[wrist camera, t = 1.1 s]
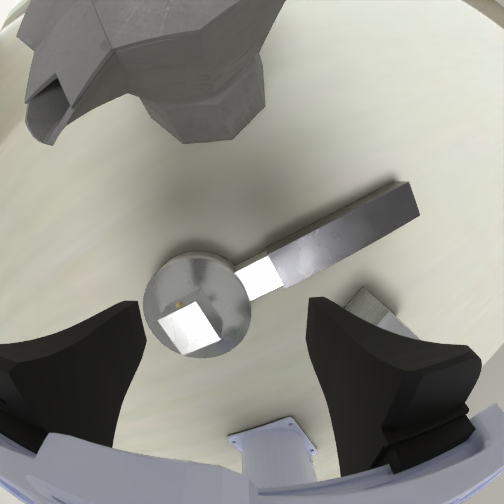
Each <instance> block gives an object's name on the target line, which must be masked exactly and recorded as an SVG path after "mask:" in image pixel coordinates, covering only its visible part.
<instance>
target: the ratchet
mask: <svg viewBox="0 0 504 504" xmlns="http://www.w3.org/2000/svg"><path fill="white" fill-rule="evenodd" d="M418 216H420V214H419V210H418V207H417V204H416V201H415V198H414V195H413V192H412V189H411V187H410V184H409V182H399V181H394V182H393V183H391V184H389V185H387V186H385V187H383V188H381V189H379V190H377V191H375V192H373V193H371V194H369V195H367V196H365V197H363V198H361V199H359V200H357V201H355V202H354V203H352V204H350V205H348V206H346V207H344V208H342V209H340V210H338V211H336V212H334V213H332V214H330V215H328V216H326V217H324V218H322V219H320V220H318V221H316V222H314V223H312V224H311V225H309V226H307V227H305V228H303V229H301V230H299V231H297V232H295V233H293V234H291V235H289V236H287V237H285V238H283V239H281V240H279V241H277V242H275V243H273V244H271V245H269V246H267V247H265V248H266V250H265V251H263V252H261V253H259V254H257V255H255V256H253V257H251V258H250V259H248V260H246V261H244V262H242V263H240V264H238V265H236V266H234V265H233V264H232V263H231V262H229V261H228V260H227V259H225V258H223V257H221V256H219V255H216V254H214V253H210V252H204V251H191V252H186V253H182V254H180V255H177V256H175V257H174V258H172V259H170V260H169V261H168V262H167V263H166V264H165V265H164V266H163V267H162V268H161V269H160V270H159V271H158V272H157V273H156V274H155V275H154V276H153V277H152V278H151V280H150V281H149V283H148V285H147V287H146V290H145V293H144V299H143V310H144V315H145V318H146V321H147V324H148V326H149V328H150V329H151V331H152V333H153V334H154V335H155V336H156V338H157V339H158V340H159V341H160V342H161V343H163V344H164V345H165V346H166V347H168V348H169V349H171V350H173V351H175V352H177V353H179V354H182V355H184V356H188V357H193V358H211V357H216V356H219V355H222V354H225V353H227V352H229V351H230V350H232V349H233V348H234V347H236V346H237V345H238V344H239V343H240V342H241V341H242V339H243V338H244V336H245V335H246V333H247V330H248V328H249V325H250V319H251V305H250V301H251V300H253V299H255V298H257V297H259V296H261V295H263V294H266V293H268V292H270V291H272V290H274V289H276V288H278V287H280V286H282V285H283V286H284V288H285V289H286V288H288V287H290V286H292V285H294V284H296V283H298V282H300V281H302V280H304V279H306V278H308V277H310V276H312V275H314V274H316V273H318V272H320V271H322V270H323V269H325V268H327V267H329V266H331V265H333V264H335V263H337V262H339V261H340V260H342V259H344V258H346V257H348V256H350V255H351V254H353V253H355V252H357V251H359V250H361V249H362V248H364V247H366V246H368V245H370V244H371V243H373V242H375V241H377V240H379V239H380V238H382V237H384V236H386V235H387V234H389V233H391V232H392V231H394V230H396V229H398V228H399V227H401V226H403V225H405V224H406V223H408V222H410V221H411V220H413V219H415V218H416V217H418Z"/></svg>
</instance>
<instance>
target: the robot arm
mask: <svg viewBox="0 0 504 504" xmlns="http://www.w3.org/2000/svg"><path fill="white" fill-rule="evenodd" d="M146 341H147V340H146V336H145V332H144V327H143V323H142V319H141V314H140V310H139V305H138V301H123V302H120V303H118V304H116V305H114V306H112V307H110V308H108V309H106V310H104V311H102V312H100V313H98V314H96V315H94V316H93V317H91V318H89V319H87V320H85V321H83V322H80V323H78V324H76V325H74V326H72V327H70V328H68V329H65V330H63V331H60V332H57V333H55V334H52V335H48V336H45V337H41V338H37V339H34V340H29V341H24V342H18V343H11V344H0V486H1V487H3V488H4V489H5V490H7V491H8V492H10V493H11V494H12V495H14V496H15V497H16V498H18V499H19V500H21V501H22V502H24V503H25V504H461V503H463V502H464V501H465V500H467V499H468V498H470V497H471V496H473V495H474V494H476V493H477V492H479V491H480V490H481V489H483V488H484V487H485V486H487V485H488V484H489V483H490V482H491V481H493V480H494V479H495V478H496V477H497V476H498V475H499V474H500V473H501V472H502V471H504V412H503V411H502V409H501V408H500V407H499V406H498V405H497V403H494V404H492V405H491V406H489V407H487V408H486V409H484V410H483V411H481V412H479V413H478V414H476V415H475V416H474V417H473V418H472V419H471V420H469V419H468V417H467V416H466V415H465V414H467V413H468V411H469V408H468V407H467V405H466V404H465V401H466V400H467V398H468V396H469V395H470V393H471V391H472V389H473V388H474V386H475V384H476V382H477V379H478V378H479V375H480V372H481V367H482V363H481V359H480V358H479V356H478V355H477V354H476V353H475V352H474V351H473V350H472V349H471V348H470V347H469V346H467V345H453V344H440V343H433V342H427V341H422V340H417V339H413V338H409V337H406V336H402V335H399V334H396V333H393V332H390V331H388V330H385V329H382V328H380V327H378V326H375V325H373V324H371V323H369V322H367V321H365V320H363V319H361V318H359V317H358V316H356V315H354V314H352V313H351V312H349V311H347V310H345V309H344V308H342V307H341V306H339V305H337V304H336V303H334V302H332V301H331V300H329V299H327V298H325V297H313V298H309V305H308V318H307V329H306V343H307V347H308V352H309V356H310V359H311V362H312V364H313V367H314V370H315V372H316V375H317V377H318V380H319V383H320V385H321V388H322V390H323V393H324V395H325V398H326V401H327V405H328V408H329V413H330V417H331V421H332V426H333V431H334V436H335V441H336V446H337V452H338V459H339V465H340V473H341V477H340V478H335V479H330V480H325V481H319V482H317V479H316V474H315V470H314V466H313V461H312V457H311V456H314V455H316V454H318V450H317V449H316V447H315V446H314V445H313V444H312V442H311V441H310V440H309V438H308V437H307V436H306V435H305V433H304V432H303V431H302V429H301V428H300V427H299V425H298V424H297V423H296V421H295V420H294V419H293V418H292V417H287V418H284V419H281V420H278V421H276V422H273V423H270V424H267V425H264V426H261V427H258V428H254V429H251V430H248V431H244V432H241V433H238V434H234V435H230V436H228V437H227V440H228V441H229V442H230V443H231V444H232V445H233V446H234V447H235V448H236V449H237V450H238V451H240V452H241V453H242V474H241V473H238V472H235V471H232V470H230V469H227V468H224V467H222V466H217V465H210V464H204V463H198V462H192V461H185V460H176V459H168V458H160V457H154V456H148V455H142V454H137V453H132V452H127V451H122V450H118V449H114V448H112V446H113V439H114V434H115V429H116V425H117V420H118V417H119V413H120V409H121V406H122V403H123V400H124V397H125V395H126V392H127V390H128V388H129V386H130V383H131V381H132V379H133V377H134V375H135V372H136V370H137V368H138V366H139V364H140V361H141V359H142V356H143V352H144V349H145V345H146Z"/></svg>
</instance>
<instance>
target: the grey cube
mask: <svg viewBox="0 0 504 504" xmlns="http://www.w3.org/2000/svg"><path fill="white" fill-rule="evenodd" d="M344 309H345V310H347V311H349V312H351V313H352V314H354V315H356V316H358V317H359V318H361V319H363V320H365V321H367V322H369V323H371V324H373V325H375V326H378V327H380V328H382V329H385V330H388V331H390V332H393V333H396V334H399V335H402V336H406V337H409V338H413V339H417V340H420V339H419V338H418V337H417V336H416V335H415V334H414V333H413V332H412V331H411V330H410V329H409V328H408V327H407V326H406V325H405V324H404V323H403V322H401V321H400V320H399V319H398V318H397V317H396V316H395V315H394V314H393V313H392V312H391V311H390V310H388V309H387V308H386V307H385V306H384V305H383V304H382V303H381V302H379V301H378V300H377V299H376V298H375V297H374V296H373V295H371V294H370V293H369V292H368V291H367V290H366V289H365V288H363V287H362V288H361V289H360V290H359V291H358V292H357V294H356V295H355V296H354V297H353V298H352V300H351V301H350V302H349V303H348V304H347V305H346V307H345V308H344Z"/></svg>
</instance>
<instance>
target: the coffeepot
mask: <svg viewBox="0 0 504 504" xmlns="http://www.w3.org/2000/svg"><path fill="white" fill-rule="evenodd" d="M285 1H286V0H31V2H30V4H29V6H28V8H27V11H26V13H25V15H24V18H23V20H22V23H21V25H20V28H19V30H18V33H17V37H18V38H19V39H20V40H21V41H23V42H24V43H25V44H26V45H27V46H28V47H30V48H31V49H32V50H33V51H35V52H34V56H33V60H32V64H31V69H30V73H29V78H28V84H27V89H26V95H25V104H27V103H28V105H27V111H26V118H25V123H26V125H27V127H28V129H29V131H30V132H31V134H32V135H33V137H34V138H35V139H37V140H38V141H39V142H41V143H44V144H47V145H52V146H53V145H54V143H55V141H56V139H57V137H58V136H59V134H60V133H61V131H62V130H63V129H64V128H65V127H66V126H67V125H68V124H70V123H71V122H73V121H74V120H76V119H77V118H79V117H81V116H82V115H84V114H85V113H87V112H89V111H90V110H92V109H94V108H96V107H98V106H100V105H102V104H104V103H106V102H109V101H111V100H113V99H115V98H117V97H120V96H122V95H124V94H127V93H129V94H132V95H135V96H138V97H140V99H141V101H142V103H143V104H144V106H145V108H146V110H147V111H148V113H149V115H150V116H151V118H152V119H154V120H155V121H156V122H157V123H159V124H160V125H161V126H162V127H163V128H165V129H166V130H167V131H168V132H170V133H171V134H172V135H173V136H174V137H176V138H177V139H178V140H179V141H180V142H182V143H183V144H188V143H200V142H211V141H220V140H232V139H233V138H234V137H235V136H236V135H237V134H238V133H239V132H240V131H241V130H242V129H243V128H244V127H245V126H246V125H247V124H248V123H249V122H250V121H251V120H252V119H253V118H254V117H255V116H256V115H257V114H258V113H259V112H260V111H261V110H262V109H263V108H264V107H265V95H264V80H263V66H262V62H261V58H260V55H259V51H260V49H261V47H262V45H263V43H264V41H265V39H266V37H267V35H268V33H269V31H270V29H271V27H272V25H273V23H274V21H275V19H276V17H277V15H278V14H279V12H280V10H281V8H282V6H283V4H284V2H285Z"/></svg>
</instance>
